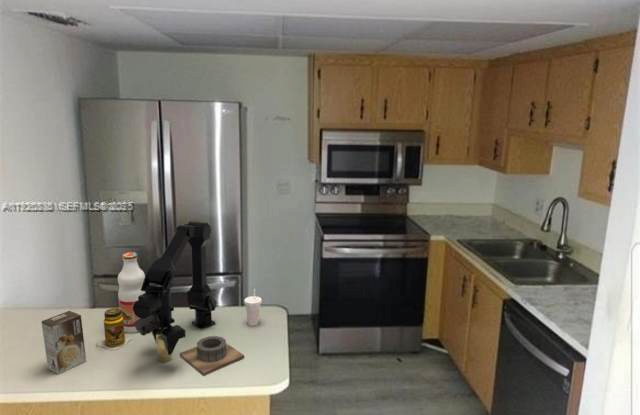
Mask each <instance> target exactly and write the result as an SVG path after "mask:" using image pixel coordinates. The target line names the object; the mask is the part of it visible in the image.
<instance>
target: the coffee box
mask: <svg viewBox="0 0 640 415" xmlns="http://www.w3.org/2000/svg"><path fill="white" fill-rule="evenodd" d="M41 327H42V335H43V341H44V350H45V356H46V357H45V358H46V364H47V369H49V370H51V371H53V372H54V373H56V374H58V375H60V374H62V373H64V372H66V371H69V370H70V369H72V368H75V367H77V366H78V365H81V364H83V363H85V362H87V356H86V347H85V338H84V328H83V322H82V315H81V314H78V313H77V312H73V311H72V310H68V311H65V312H62V313H59V314H57V315H55V316H51V317H50V318H47V319H44V320H41Z"/></svg>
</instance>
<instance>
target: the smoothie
mask: <svg viewBox="0 0 640 415" xmlns="http://www.w3.org/2000/svg"><path fill="white" fill-rule="evenodd" d="M262 300H263V299H262V298H261V297H260V296H256V288H253V296H252V295H251V296H247V297H246V298H245V299H244V304H245V310H246V318H247V324H248V325H249V326H251V327H255V326H258V325H259V321H260V320H259V318H260V312H261V304H262V303H263V301H262Z"/></svg>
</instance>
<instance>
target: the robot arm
mask: <svg viewBox="0 0 640 415" xmlns="http://www.w3.org/2000/svg"><path fill="white" fill-rule="evenodd" d="M211 233H212V227H211V225H210V224H209V223H208V222H204V221H195V220H190V221H189V222H188V223H182V224H179V225H177V226H176V229H175V233H174V234H173V236H172V238H171V240H170V241H169V243H168V245H167V247H166V248H165V250H164V252H162V253H163V254H162V255H161V256H160V257H159V258H158V259H156V260H155V261H153V262H152V264H151V265H150V266H149V268H148V269H147V270H146V273H145V279H144V282H143V285H142V288H141V291H145V293H144V294H143V295H140V296H138V301H136V302H135V303H134V305H133V312H134V314H135V315H136V316H137V317H139V318H140V319H138V320H137V321H135V322H134V326H135V328H136V330H137V331H138V332H137V333H139V334H140V335H141V336H143V337H144V336H146V335H147V334H148V335H149V334H150V333H151V334H152V336H153V339H154V341H155V342H154V343H156V333H157V332H159V331H163V332H162V338H161V339H162V340H163V341H164V342H166V347H167V352H168V355H172V354H173V353H174V350H175V348H176V345H177V344H178V342H179V341H180V340H181V339H183V338H185V337H186V329H184V328H183V327H182V326H180V325H178V324H176V325H175V324H174V325H171V324H173V323H175V318H173V314H172V312H173V311H174V310H175V308H174V306H173V305H172V297H171V296H172V295H171V294H172V293H171V289H172V288H174V286H175V285H174V284H173V281H174V278H175V275H176V273H177V272H176V265H177V263H178V261H179V259H180V258H181V255H182V254H183V252H184V250H185V248H186V247H187V244H189V245H190V247H191V248H190V251H191V278H192V281H191V282H192V284H191V285H192V286H191V287H190V288H189V290H188V291H186V292H187V293H186V296H187V297H186V298H187V300H186V302H187V305H188V308H189V309H190V310H194V318H195V319H194V320H193V321H191V324H192V325H193V326H195V327H196V328H198V329H200V330H201V329H205V328H207V327H210V326H213V325H216V321H214V320H212V319H213V317H212V315H213V314H212V312H214V311H216V308H217V303H218V302H217V300H216V299H215V298H214V297H213V294H212V290H211V288H210V286H209V285H208V283H207V259H206V256H207V253H206V249H207V248H206V247H207V244H208V242H209V240H210V238H211Z"/></svg>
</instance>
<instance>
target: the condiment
mask: <svg viewBox="0 0 640 415" xmlns="http://www.w3.org/2000/svg"><path fill="white" fill-rule="evenodd" d="M103 314H104V319H103V325H104V338H105V339H103V340H101V341H100V342H99V343H97V344H96V346H97V347H102V348H106V349H110V350H115V351H116V350H118V349H119V348H121V347H123V346H124V345H126V344H128V342H130V341H131V339H132V338H126V336H125V335H126V334H125V333H126V332H124V321H123V317H122V314H121V310H120V309H119V307H118V308H117V307H116V308H115V307H114V308H109V309H106V310H105V311H104V313H103Z"/></svg>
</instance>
